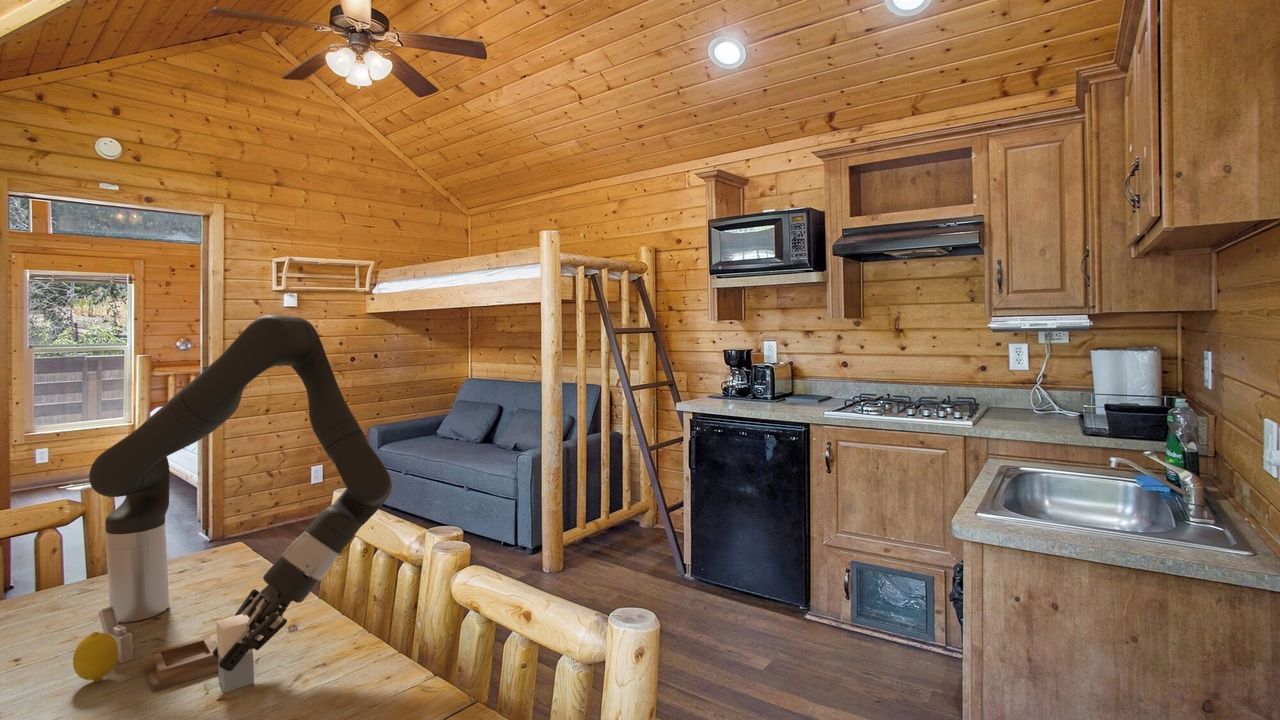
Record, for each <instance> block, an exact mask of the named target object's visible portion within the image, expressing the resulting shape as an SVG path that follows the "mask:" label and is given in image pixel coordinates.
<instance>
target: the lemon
mask: <svg viewBox="0 0 1280 720" xmlns="http://www.w3.org/2000/svg"><path fill="white" fill-rule="evenodd" d="M118 654H119V652H118V646H117V643H116V641H115V639H114V638H113V637H112V636H111V635H109V634H106V633H104V632H98V631H94V632H92V633H90V634H89V635H88V636H85V637H84V638H83V639H82V640H81V641H80V642H79V643H78V644H77V646H76V648H75V650H74V653H73V659H72V666H73V667H72V668H73V670H74V672H75V674H76V675H77V676H78V677H79V678H81V679H83V680H87V681H93V682H97V683H98V682H99V681H101V680H102V679H103V677H105V676H107V675H108V674H109V673H111V671H113V669H114V668H115V666H116V665H117V663H118V661H117V660H118Z"/></svg>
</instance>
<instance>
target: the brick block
mask: <svg viewBox="0 0 1280 720" xmlns="http://www.w3.org/2000/svg"><path fill="white" fill-rule="evenodd" d="M248 620H249V617H248V616H247V615H243V614H241V615H237V616H234V615H233V616H229V617H226V618H222V619H219V620H216V623H215V624H216V642H217V646H218V668H219V671H218V683H219V685H220V688H222V690H223V692H224V694H225V693H228V692H231V691H234V690H237V689H241V688H243V687H246V686H249V685H251V684H255V673H254V672H255V669H254V668H255V667H254V649H252V650H250V649H249V651H248V652H247V653H246V654H245V655H244V657H243V658H242V659H241V660H240V661H239V663H238V664H237V665H236V666H235V667H234V669H233V670H231V671H227V670H225V669H223V668H221V667H220V666H219V662H220V661H221V659H222V658H223V657H224V656H225V655H226V654H227V652H228V651H229V650H230V649H231V648H232V647H233V645H234V644H235V643H236V642H238V640H239V638H240V637H241V635H242V634H243V633H244V631H245V630H246V629H247V627H246V625H247V623H248ZM252 632H253V631H251V633H252ZM251 633H250V634H251Z"/></svg>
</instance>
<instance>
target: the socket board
mask: <svg viewBox="0 0 1280 720" xmlns="http://www.w3.org/2000/svg"><path fill="white" fill-rule="evenodd" d="M216 647H217V640H212V638H211V637H210V636H205V637H201V638H197V639H194V640H192V641H188V642H184V643H180V644H178V645H174V646H170V647H167V648H163V649H160V650H156V651H153V652H151V654H152V658H150V659H146V660H145V661H144V662H143V663H144V669H145V672H146V676H147V678H148V681H149V684H150V687H151V689H152V693H154V692H157V691H159V690H160V691H161V690H162V689H166V688H169V687H172V686H177V685H179V684H182V683H185V682H188V681H192V680H195V679H198V678H201V677H204V676H207V675H210V674H213V673H216V672H219V668H218V658H217V657H215V656H214V655H213V651H214V649H215V648H216Z"/></svg>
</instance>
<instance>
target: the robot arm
mask: <svg viewBox="0 0 1280 720" xmlns="http://www.w3.org/2000/svg"><path fill="white" fill-rule="evenodd" d="M318 333H319V332H317V330H316V328H315V326H314V325H313V324H312V323H311V322H310V321H308V320H307V319H305V318H302V317H299V316H290V315H289V316H288V315H287V316H286V315H280V314H278V315H277V314H267V315H264V316H259V317H258V318H255V320H253V321H252V322H251V323H250V324H249V325H248V326H247V327H245V329H243V331H241V333H239V335H238V337H236V339H235V340H234V341H233V342H231V344H230V345H229V346H228V347H227V348H226V350H224V352H223V353H222V354H221V355H220V356H219V357H218V358H217V359H216V360H214V361H213V362H212V363H211V364H210V365H208V366H207V367H206V368H205V369H204V370H203V371H202V372H201V373H200V374H199V375H197V376H196V377H195V378H194V379H193V380H192V381H190V382H189V383H188V384H186V385H185V386H184V387H183V388H181V390H179V391H178V392H177V393H176V394H174V395H173V396H172V397H171V398H170V400H168V401H167V402H166V403H165V404H164V405H163V406H161V407H160V409H158V410H157V411H156V412H155V413H153V414H152V415H151V416H150V417H149V418H147V420H145V421H144V422H143V423H142V424H141V425H140V426H139V427H138V428H136V429H135V430H134V431H132V432H131V433H130V434H128V435H127V436H125V437H123V438H122V439H121V440H120V441H118V442H117V443H115V444H113V445H111V447H108V449H106V450H104V451H103V452H102V453H101V454H99V455H98V457H96V459H95V460H94V461H93V462H92V465H91V467H90V469H89V473H88V474H89V475H88V476H89V479H88V480H89V484H90V487H91V488H92V489H93V491H94V492H96V493H97V494H98V495H100V496H103V497H107V498H119V497H120V498H121V497H125V498H124V499H123V500H124V501H123V502H122V503H120V505H119V506H118V507H116V508H115V509H114V510H113V511H112V512H111V513H109V514H108V515H107V516H106V517H105V522H104V523H105V525H104V527H105V541H106V543H105V544H106V558H107V561H106V562H107V574H108V576H107V577H108V579H107V580H108V595H109V596H108V597H109V598H108V599H109V600H108V602H109V607H111V606H113V607H114V610H115V614H116V617H117V621H118V623H131V622H137V621H142V620H145V619H149V618H153V617H155V616H157V615H160V614H162V613H164V612H165V611H167V610H168V609H169V607H170V596H169V595H170V593H169V592H170V591H169V590H170V589H169V572H168V571H169V570H168V554H167V552H168V550H167V547H168V546H167V532H166V531H167V530H166V515H167V512H168V510H169V506H170V479H171V477H170V462H169V460H168V457H169V456H170V455H173V454H174V453H177V452H179V451H181V450H184V449H185V448H187V447H189V446H191V445H193V444H195V443H197V442H199V441H200V440H203V438H205V437H207V436H208V435H210V434H211V433H213V432H214V431H216V429H218V428H219V427H221V426H222V425H223V424H224V423H225V422H226V421H227V420H229V418H230V417H232V416H233V415H234V414H235V413H236V411H237V410H238V408H239V406H240V403H241V400H242V395H243V392H244V390H245V388H246V387H247V385H248V384H250V383H251V382H252V381H253V380H254V379H256V378H257V377H258V376H259V375H261V374H262V373H264V372H265V371H268V369H270V368H273V367H281V366H283V367H284V366H285V367H289V366H290V367H291V368H292V369H293V370H294V371H295V372H296V374H297V375H298V377H299V378H300V380H301V381H302V384H303V385H304V388H305V391H306V394H307V399H308V400H307V403H308V405H307V406H308V416H309V421H310V425H311V428H312V430H313V432H314V435H315V437H316V438H317V440H318V441H319V443H320V445H321V447H322V448H323V450H324V451H325V453H326V455H327V457H328V458H329V459H330V461H331V462H332V463H334V465H335V468H336V469H337V471H338V474H339V476H340V477H341V480H342V482H343V483H344V486H345V487H346V489H345V490H344V491H343V492H342V493H341V494H340V495H339V497H338V498H337V499H336V500H335V502H333V503H332V504H331V505H329V506H327V507H326V508H324V509H323V510H322V511H321V512H320V513H319V514H318V515H316V518H315V519H313V521H312V522H311V523H310V524H309V526H308V527H306V529H305V530H304V531H303V532H302V533H301V534H300V535H299V536H298V537H296V538H295V539H294V540H293V542H292V543H291V544H290V545H289V546H288V547H287V548H286V550H285V551H284V552H283V553H282V554H281V556H279V558H278V559H277V560H276V561H275V562H274V563H273V564H272V566H271V567H270V568H269V569H268V570H267V571H266V573H264V575H263V578H262V579H263V581H264V582H265V583H266V586H265V587H264V588H263V589H262V590H260V591H259V590H257V589H255V588H253V589H252V590H251V591H250V592H249V594H248V596H246V599H245V600H244V601H243V603H242V604H241V605H240V607H239V608H238V609H237V611H236V612H235V614H234V615H233V616H237V615H241V614H243V615H247V616H248V617H249V620H248V623H247V625H246V627H247V629H246V630H245V631H244V633H243V634H242V635H241V637H240V638H239V640H238V642H236V643H235V644H234V645H233V647H232V648H231V649H230V650H229V651H228V652H227V654H226V655H225V656H224V657H223V658H222V659H221V661H220V662H219V666H220V667H221V668H223V669H225V670H227V671H231V670H233V669H234V667H235V666H236V665H237V664H238V663H239V661H240V660H241V659H242V658H243V657H244V655H245V654H246V653H247V652H248V651H249V649H250V650H252V649H253V650H255V651H259V650H260V649H261V648H262V647H264V645H266V643H267V642H269V641H270V639H272V638H273V637H274V636H276V634H277V633H278V632H279V631H280V630H281V629H282V628H283V627H284V626H285V625H286V624H287V622H288V619H286V618H285V617H283V615H284V613H285V612H286V611H287V609H288V607H289V606H290V604H291V603H292V602H295V603H297V604H299V603H302V602H304V600H305V599H306V598H307V597H308V596H309V594H310V593H311V592H312V591H313V590H314V588H316V587H317V585H318V583H319V582H320V581H321V580H322V579H323V577H324V576H325V574H326V573H327V572H329V570H330V569H331V567H333V565H334V563H335V561H336V560H337V558H338V557H339V556H340V554H341V553H342V552H343V550H344V549H345V548H346V547H347V546H348V544H350V542H351V541H352V540H353V538H354V537H355V536H356V534H357V532H358V531H360V529H361V527H362V526H364V525H365V524H366V523H367V522H368V521H369V519H371V518H372V517H373V516H374V515H375V514H376V513H377V511H378V510H380V509H381V507H382V505H384V504H385V502H386V501H387V499H388V498H389V497H390V494H391V492H392V489H393V486H392V480H391V479H392V478H391V475H390V473H389V471H388V470H387V468H386V466H385V465H384V464H383V462H382V461H381V459H380V457H379V456H378V455H377V453H376V451H374V449H373V448H372V446H371V445H370V444H369V441H368V439H367V437H366V436H367V435H365V432H364V430H363V429H362V428H361V426H360V425H359V423H358V421H357V419H356V418H355V416H354V414H353V412H352V411H351V409H350V407H349V406H348V404H347V401H346V400H345V398H344V396H343V394H342V392H341V389H340V387H339V384H338V382H337V379H336V377H335V374H334V372H333V369H332V366H331V365H330V361H329V359H328V356H327V354H326V351H325V348H324V346H323V343H322V340H321V338H320V336H319V334H318ZM167 608H168V609H167ZM166 609H167V610H166ZM164 610H165V611H164ZM163 611H164V612H163ZM161 612H162V613H161ZM251 631H252V633H251ZM250 633H251V634H250ZM213 655H214V656H215V657H217V658H218V646H217V647H216V648H215V649H214V651H213Z"/></svg>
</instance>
